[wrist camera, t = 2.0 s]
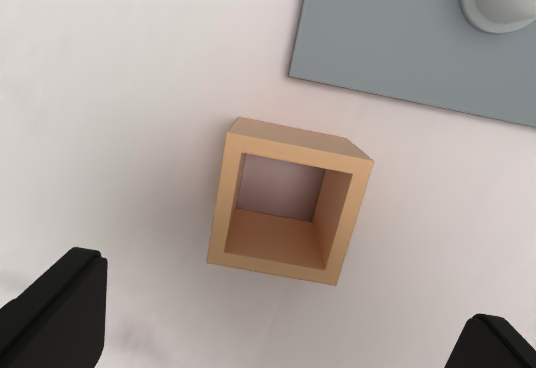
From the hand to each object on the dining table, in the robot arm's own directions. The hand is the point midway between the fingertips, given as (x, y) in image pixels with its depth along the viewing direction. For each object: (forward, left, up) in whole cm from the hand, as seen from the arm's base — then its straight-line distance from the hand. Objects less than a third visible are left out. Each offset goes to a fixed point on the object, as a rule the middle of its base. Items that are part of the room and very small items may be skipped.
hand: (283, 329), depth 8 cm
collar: (0, 0, -14) cm, 14 cm away
